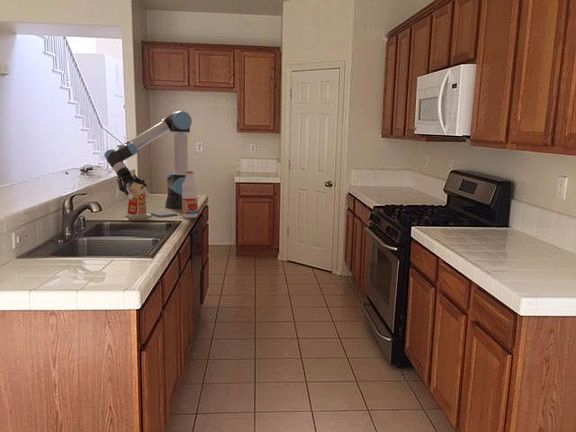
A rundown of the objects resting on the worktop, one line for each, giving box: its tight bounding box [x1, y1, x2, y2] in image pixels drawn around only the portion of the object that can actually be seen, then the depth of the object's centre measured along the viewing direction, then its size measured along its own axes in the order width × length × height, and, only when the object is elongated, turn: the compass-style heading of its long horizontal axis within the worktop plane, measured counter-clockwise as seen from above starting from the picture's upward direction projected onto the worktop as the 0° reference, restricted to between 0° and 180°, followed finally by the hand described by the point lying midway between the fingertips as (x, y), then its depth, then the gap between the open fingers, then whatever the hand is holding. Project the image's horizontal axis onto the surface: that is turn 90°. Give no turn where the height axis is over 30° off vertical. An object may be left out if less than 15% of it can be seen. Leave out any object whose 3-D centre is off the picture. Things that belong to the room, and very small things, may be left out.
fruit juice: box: [181, 170, 199, 219], centre depth 297 cm, size 9×9×28 cm
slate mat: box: [150, 210, 178, 218], centre depth 304 cm, size 12×12×1 cm
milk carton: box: [126, 181, 148, 216], centre depth 295 cm, size 9×9×20 cm
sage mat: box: [124, 213, 153, 220], centre depth 298 cm, size 12×12×1 cm
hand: (140, 197), depth 294 cm, fingers open, 13 cm apart
